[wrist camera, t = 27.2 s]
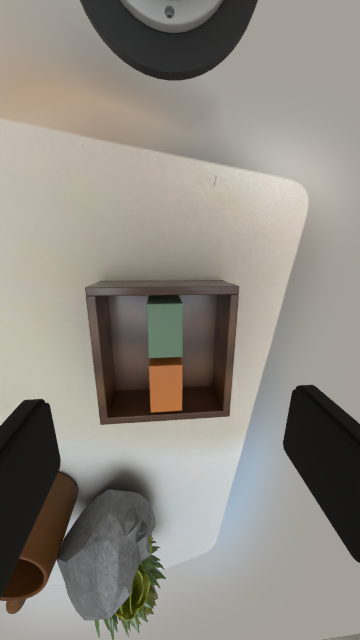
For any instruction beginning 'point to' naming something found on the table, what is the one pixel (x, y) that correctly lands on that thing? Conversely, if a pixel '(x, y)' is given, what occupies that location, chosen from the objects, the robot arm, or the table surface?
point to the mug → (41, 545)
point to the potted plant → (112, 560)
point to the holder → (132, 348)
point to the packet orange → (165, 384)
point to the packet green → (165, 326)
